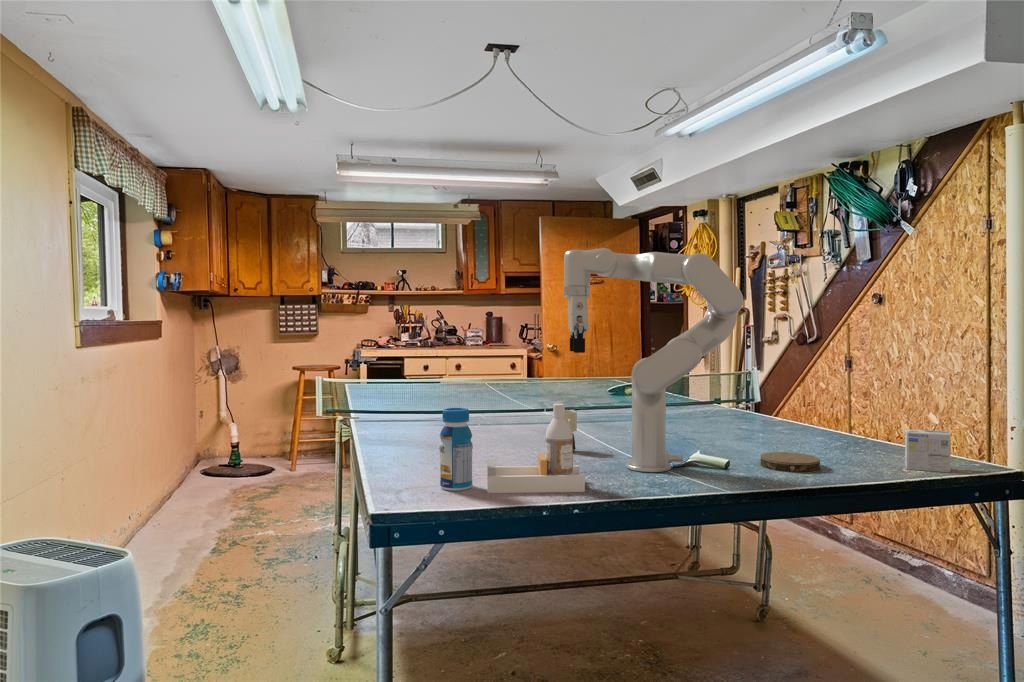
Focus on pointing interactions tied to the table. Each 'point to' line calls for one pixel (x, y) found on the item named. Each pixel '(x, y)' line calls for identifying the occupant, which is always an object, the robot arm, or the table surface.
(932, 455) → the light bulb box
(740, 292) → the robot arm
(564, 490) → the pusher lane
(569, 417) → the character mug
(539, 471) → the orange rectangular block
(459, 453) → the beverage bottle
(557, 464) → the bath foam
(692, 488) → the table surface
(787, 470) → the brown round disc
